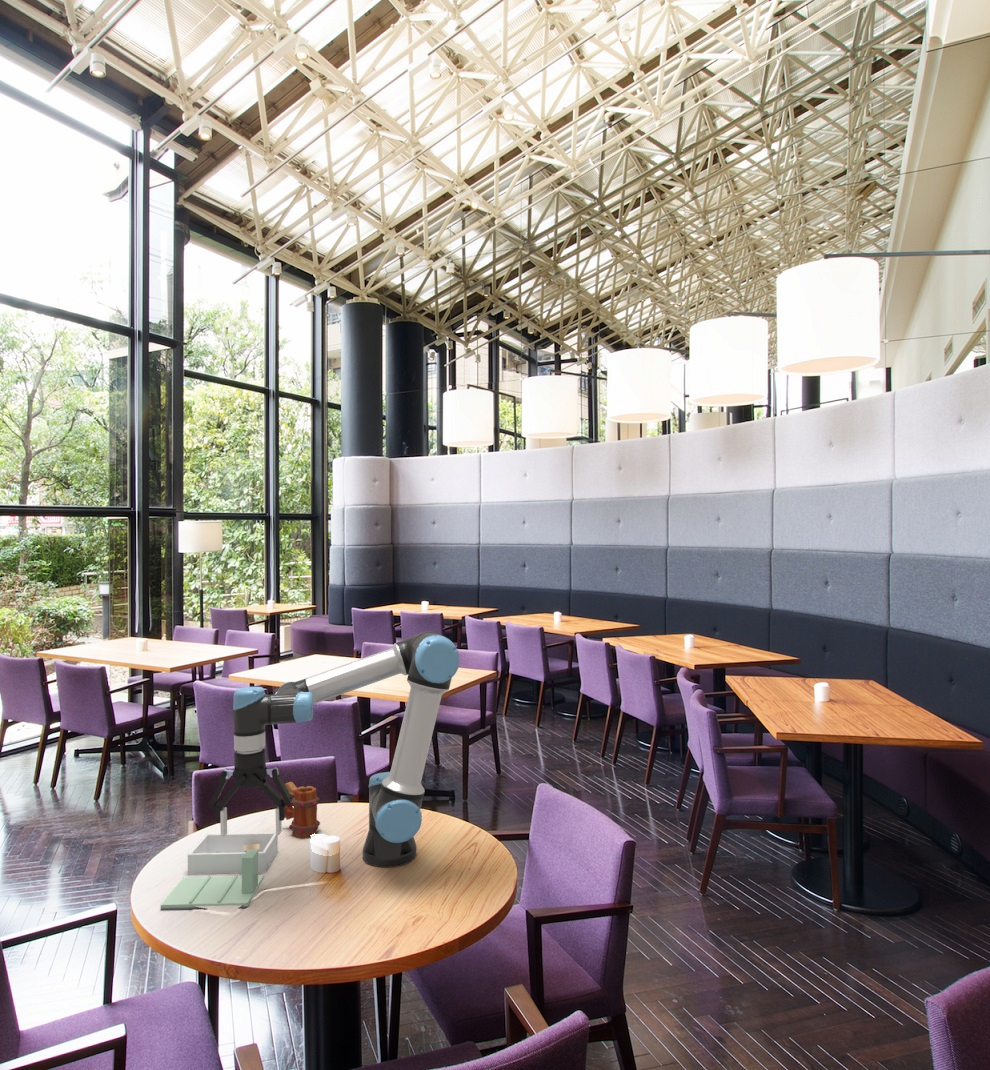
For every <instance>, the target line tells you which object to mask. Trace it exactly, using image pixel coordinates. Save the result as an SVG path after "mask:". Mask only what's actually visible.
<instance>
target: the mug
mask: <svg viewBox="0 0 990 1070" xmlns="http://www.w3.org/2000/svg"><path fill="white" fill-rule="evenodd" d="M284 784H285V786H286V788H287V790H288V791H289V793H290V795H291V797H292V799H293V801H292V802H291V804H290V805H289V806H285V820H286V821H287V820H291V819H292V821H291V823H290V824H289V826H288V828H289V829H290V830H291V832H292V836H293V837H296V838H298V839H299V838H300V839H302V838H303V839H306V838H307V839H308V838H311V837H310V835H312V834H314V833H316V834H317V832H318V829H319V826H321V822H320V821H319V820H318V813H317V812H318V804H319V802H320V800H321V799H320V797H318V796H317V795H318V794H317V788H316V787H314V786H311V785H307V786H306V787H305V786H299V787H297V786H296V785H295V784H294V782H293V781H289V782H286V783H284ZM279 795H280V796H281V794H280V793H279ZM281 797H282V796H281Z"/></svg>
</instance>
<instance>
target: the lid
mask: <svg viewBox="0 0 990 1070" xmlns="http://www.w3.org/2000/svg"><path fill="white" fill-rule="evenodd" d="M264 878H265V875H259V873H258V850H247V852H246V853H245V854H244V856H243V857H242V874H241V876H240V875H238V874H235V875H234V876H212V875H208V876H200V877H193V876H192V877H183V878H182V879H181V880H180V881H179V882H178V883H177V885H176V886H175V887H174V888H173V890H171V892H170V893H169V895H167V896H166V897H165V899H164V900H163V901H162V902H161V904H160V909H161V908H196V907H205V906H206V907H209V906H210V907H212V906H246V907H248V906H249V905H250V903H251V902H252V899H253V897H254V895H255V893H256V891H257V890H258V888H259V886H260V885H261V883H262V881H263V879H264Z"/></svg>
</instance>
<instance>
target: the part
mask: <svg viewBox="0 0 990 1070" xmlns="http://www.w3.org/2000/svg"><path fill="white" fill-rule="evenodd" d="M247 850H258V852H259V844H252V845H244V852H247Z"/></svg>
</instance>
